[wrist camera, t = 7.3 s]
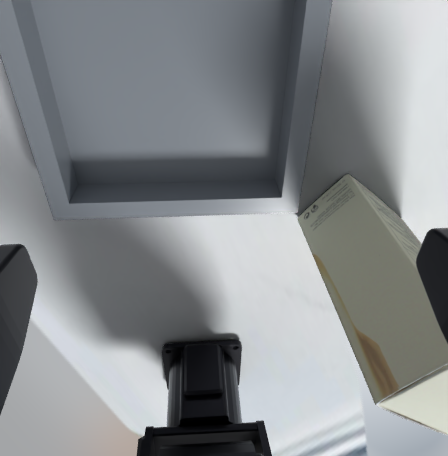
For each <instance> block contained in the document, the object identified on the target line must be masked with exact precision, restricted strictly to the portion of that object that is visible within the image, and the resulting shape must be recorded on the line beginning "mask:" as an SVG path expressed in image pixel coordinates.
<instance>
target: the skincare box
mask: <svg viewBox="0 0 448 456" xmlns="http://www.w3.org/2000/svg"><path fill="white" fill-rule="evenodd" d="M298 222H299V224H300V226H301V229H302V231H303V234H304V236H305V238H306V241H307V243H308V245H309V248H310V250H311V252H312V255H313V257H314V259H315V262H316V264H317V267H318V269H319V271H320V274H321V276H322V279H323V281H324V283H325V286H326V288H327V290H328V293H329V295H330V297H331V300H332V302H333V304H334V307H335V309H336V311H337V314H338V316H339V319H340V321H341V323H342V326H343V328H344V331H345V333H346V335H347V338H348V340H349V342H350V345H351V347H352V349H353V352H354V354H355V357H356V359H357V361H358V364H359V366H360V369H361V371H362V373H363V375H364V378H365V381H366V383H367V385H368V388H369V390H370V393H371V395H372V397H373V400H374V403H375V405H376V406H377V407H380V408H382V409H384V410H386V411H388V412H390V413H392V414H394V415H397V416H399V417H401V418H404V419H406V420H409V421H411V422H413V423H416V424H419V425H421V426H424V427H426V428H428V429H431V430H434V431H436V432H439V433H442V434H445V435H447V436H448V344H447V342H446V340H445V338H444V336H443V333H442V331H441V329H440V327H439V324H438V322H437V320H436V317H435V315H434V312H433V309H432V307H431V304H430V301H429V299H428V296H427V294H426V291H425V288H424V286H423V283H422V281H421V278H420V275H419V273H418V270H417V267H416V258H417V255H418V253H419V250H420V248H421V246H422V244H421V243H420V241H419V240H418V239H417V237H416V236H415V235H414V234H413V232H412V231H411V230H410V229H409V227H408V226H407V225H406V223H405V222H404V221H403V220H402V219H401V218H400V217H399V216H398V215H397V214H396V213H395V212H394V211H393V210H392V209H391V208H389V207H388V206H387V205H386V204H385V203H384V202H383V201H382V200H380V199H379V198H378V197H377V196H376V195H374V194H373V193H372V192H371V191H370V190H368V189H367V188H366V187H365V186H363V185H362V184H361V183H360V182H358V181H357V180H356V179H354V178H353V177H352V176H351V175H349V174H346V175H345V176H344V177H343V178H341V179H340V180H339V181H338V182H337V183H336V184H334V185H333V186H332V187H331V188H330V189H329V190H327V191H326V192H325V193H324V194H323V195H322V196H321V197H320V198H318V199H317V200H316V201H315V202H314V203H313V204H312V205H311V206H310V207H309V208H308V209H306V210H305V211H304V212H303V213H302V214H301V215H300V216H299V217H298Z"/></svg>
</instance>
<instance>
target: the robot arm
mask: <svg viewBox="0 0 448 456" xmlns="http://www.w3.org/2000/svg"><path fill="white" fill-rule="evenodd" d="M416 267H417V270H418V273H419V275H420V278H421V281H422V283H423V286H424V288H425V291H426V294H427V296H428V299H429V301H430V304H431V307H432V309H433V312H434V315H435V317H436V320H437V322H438V324H439V327H440V329H441V331H442V333H443V336H444V338H445V340H446V342H447V344H448V228H434V229H431V230H429V231H428V232H427V234H426V236H425V239H424V241H423V243H422V246H421V248H420V250H419V253H418V255H417V258H416ZM36 288H37V274H36V271H35V268H34V266H33V263H32V261H31V259H30V256H29V254H28V251H27V249H26V248H25V247H24V246H23V245H21V244H8V245H0V414H1V411H2V409H3V406H4V403H5V400H6V397H7V394H8V391H9V389H10V386H11V383H12V380H13V377H14V374H15V371H16V369H17V366H18V363H19V360H20V356H21V353H22V350H23V346H24V341H25V337H26V333H27V328H28V323H29V319H30V315H31V310H32V306H33V301H34V297H35V292H36ZM241 351H242V346H241V342H240V341H238V340H228V341H209V342H190V343H172V344H165V345H163V347H162V355H163V362H164V368H165V375H166V382H167V388H168V390H169V393H168V414H167V427H157V428H154V426H150V427H146V430H145V436H143V437H142V438H140V439H138V449H137V456H272V454H271V450H270V446H269V442H268V437H267V433H266V429H265V425H264V421H256V422H252V423H242V419H241V410H240V401H239V391H238V385H239V379H240V365H241Z"/></svg>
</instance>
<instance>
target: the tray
mask: <svg viewBox="0 0 448 456" xmlns="http://www.w3.org/2000/svg"><path fill="white" fill-rule="evenodd" d="M331 6H332V0H0V55H1V58H2V61H3V64H4V67H5V70H6V74H7V77H8V80H9V83H10V86H11V89H12V92H13V95H14V98H15V101H16V104H17V107H18V110H19V114H20V117H21V120H22V123H23V126H24V129H25V132H26V135H27V138H28V141H29V144H30V147H31V151H32V154H33V157H34V160H35V163H36V166H37V169H38V172H39V175H40V178H41V181H42V184H43V188H44V191H45V194H46V197H47V200H48V203H49V206H50V209H51V212H52V215H53V218H54V220H75V219H107V218H140V217H172V216H204V215H236V214H269V213H298V208H299V202H300V196H301V190H302V184H303V178H304V171H305V165H306V159H307V153H308V147H309V141H310V135H311V128H312V122H313V116H314V110H315V104H316V98H317V92H318V86H319V79H320V73H321V67H322V61H323V55H324V49H325V43H326V37H327V30H328V24H329V18H330V12H331Z"/></svg>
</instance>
